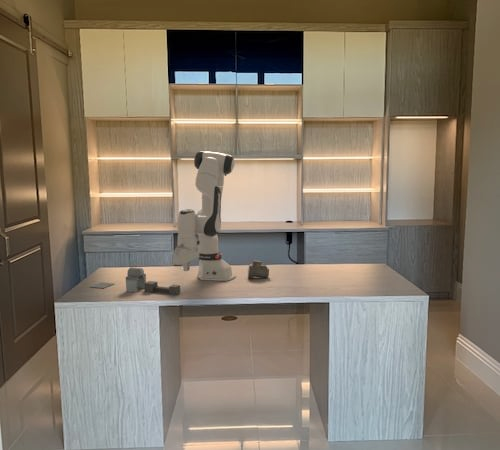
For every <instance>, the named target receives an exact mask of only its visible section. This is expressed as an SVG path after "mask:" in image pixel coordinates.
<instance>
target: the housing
mask: <svg viewBox="0 0 500 450" xmlns="http://www.w3.org/2000/svg"><path fill="white" fill-rule="evenodd" d="M126 274H127V276H125V288H126V289H125V290H126V291H125V292H131V293H137V292H138V288H140V289H144V283H146V282H147V273H145V270H144V268H142V267H135V266H134V267H133V266H131V267H129V268H128V270H127V273H126Z"/></svg>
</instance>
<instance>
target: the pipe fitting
mask: <svg viewBox="0 0 500 450" xmlns="http://www.w3.org/2000/svg"><path fill="white" fill-rule="evenodd" d="M269 276H270V269H269V267H268V266H267V264H263V263H262V260H261V261H260V260H252V263H250V264H249V265H248V269H247V278H248V279H253V278H262V279H268V278H269Z"/></svg>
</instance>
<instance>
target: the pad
mask: <svg viewBox="0 0 500 450" xmlns="http://www.w3.org/2000/svg"><path fill="white" fill-rule="evenodd" d="M114 285H115V283H112V282H99V283H95V284H93V285H90V286H89V288H95V289H102V290H103V289H107V288H109V287H111V286H114Z"/></svg>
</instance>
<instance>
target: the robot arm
mask: <svg viewBox="0 0 500 450" xmlns="http://www.w3.org/2000/svg"><path fill="white" fill-rule="evenodd" d="M193 159H194V160H193V163H194V167H195V168H196V169H197V172H196V173H197V174H196V176H195V187H196V190H198V191H199V193H201V209H200V210H198V212H197V213H196V212H195V210H194V209H189V208H186V209H183V210H180V211H179V212H178V217H177V232H178V234H177V245H176V247H175V249H174V251H173V252H174V253H173V260H172V261H173V265H174V266H183V267H182V268H183V271H184V272H188V271H190V267H191V265H192V261H194V260H197V259H198V262H199V263H198V270H197V271H198V272H197V275H196V277H197V279H200V281H214V282H215V281H216V282H217V281H218V282H219V281H220V282H228V281H231V280H233V279H235V278H237V275H236V273H233V270H232V269H233V268H232V266H231V265H230V264H229V263H227V261H225V260H224V259H222V256H223V253H220V251H219V237H218V234H219V233H220V232H221V226H222V215H221V214H222V196H223V195H222V194H223V189H224V184H225V183H224V182H225V181H224V180H225V177H226V176H227V175H230V174H231V173H232V172H233V170H234V168H235V158H234V157H233V156H232V155H230V154H228V153H227V154H226V153H221V152H217V151H216V152H214V151H204V150H201V151H200V150H199V151H197V152H196V154H195V155H194V157H193ZM196 235H198V239H197V237H196Z"/></svg>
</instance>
